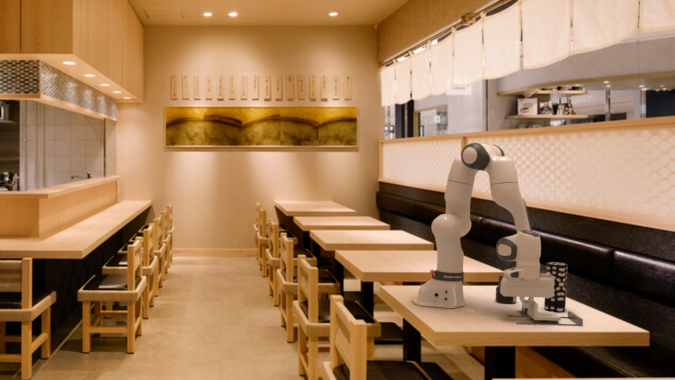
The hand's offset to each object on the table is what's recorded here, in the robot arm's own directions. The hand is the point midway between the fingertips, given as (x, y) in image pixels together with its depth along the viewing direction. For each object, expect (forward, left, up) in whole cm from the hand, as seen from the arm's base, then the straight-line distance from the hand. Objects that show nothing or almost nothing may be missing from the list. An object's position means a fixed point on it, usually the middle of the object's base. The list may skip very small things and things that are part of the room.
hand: (526, 308), depth 250 cm
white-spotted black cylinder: (+18, +19, -5) cm, 27 cm away
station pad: (+5, +12, -5) cm, 14 cm away
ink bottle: (+1, +32, -6) cm, 33 cm away
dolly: (+7, 0, -5) cm, 9 cm away
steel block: (+5, +12, -5) cm, 14 cm away
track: (+7, 0, -5) cm, 9 cm away
